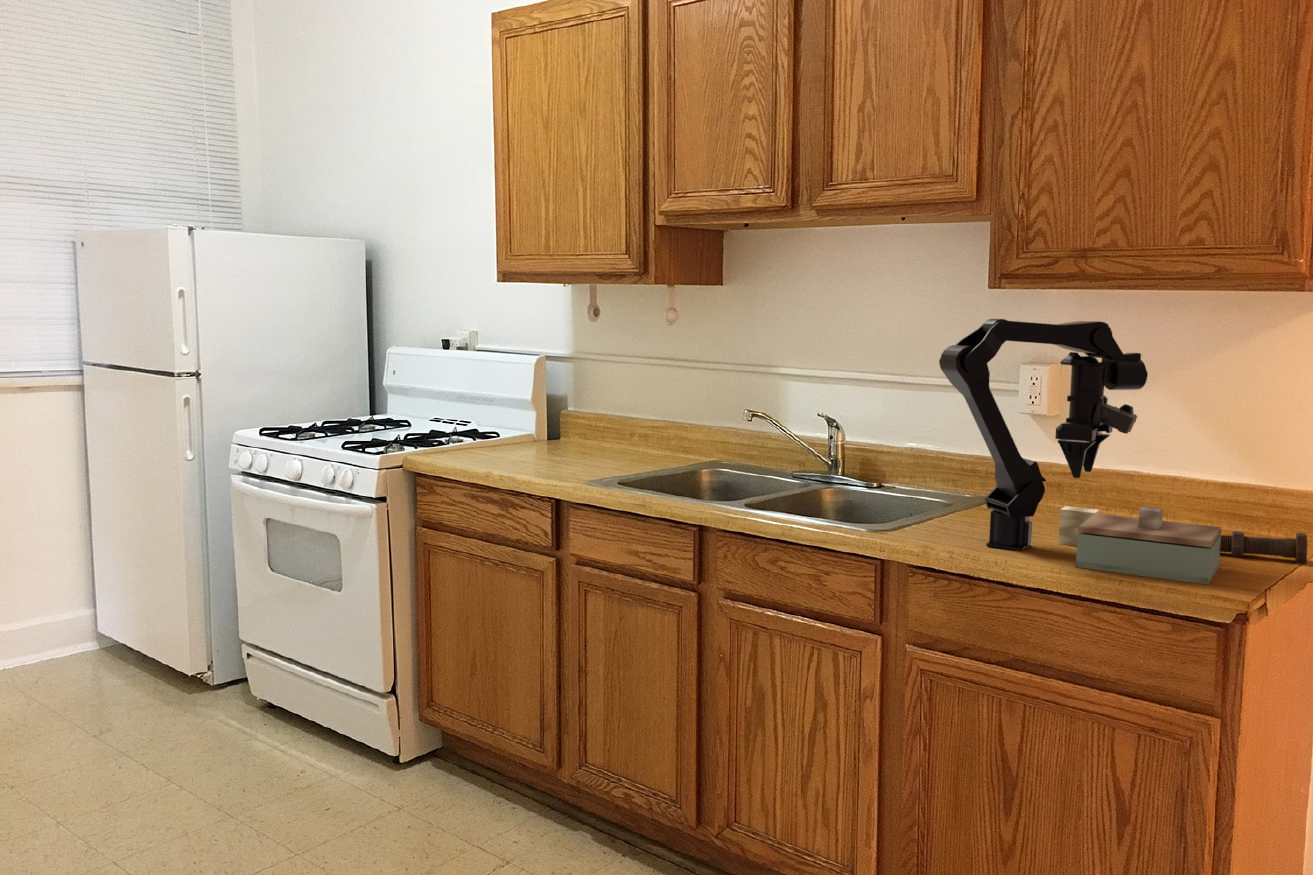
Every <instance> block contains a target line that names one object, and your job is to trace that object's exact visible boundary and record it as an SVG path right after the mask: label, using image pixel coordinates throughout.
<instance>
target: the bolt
mask: <svg viewBox="0 0 1313 875" xmlns="http://www.w3.org/2000/svg"><path fill="white" fill-rule="evenodd" d="M1220 535H1221V542H1220V552H1221V553H1228V554H1231V555H1230V556H1231V557H1233V558H1243V557H1244V554H1245V555H1246V554H1247V555H1248V554H1249V555H1256V556H1257V555H1258V556H1259V555H1260V556H1261V555H1262V556H1267V557H1270V556H1271V557H1272V556H1273V557H1282V558H1287V559H1294V562H1295V563H1296V564H1299V565H1306V564H1307V560H1308V558H1307V556H1308V535H1307V534H1306V533H1304V532H1296V533H1295V538H1292V537H1291V538H1290V537H1284V538H1283V537H1282V538H1280V537H1279V538H1278V537H1277V538H1276V537H1275V538H1274V537H1267V536H1266V537H1264V536H1250V535H1249V536H1247V535H1245V533H1244V532H1243V531H1240V530H1239V531H1238V530H1234V531H1232V532H1231V535H1229V534H1222V533H1221V534H1220Z"/></svg>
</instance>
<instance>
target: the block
mask: <svg viewBox="0 0 1313 875" xmlns="http://www.w3.org/2000/svg"><path fill="white" fill-rule="evenodd" d="M1095 514H1100V509H1097V508H1096V509H1095V508H1086V507H1077V506H1063V507H1062V508H1060V512H1059V526H1058V528H1059V529H1058V530H1059V531H1058V544H1059V545H1066V546H1067V545H1068V546H1076V547H1077V539H1078V533H1080V532H1078V526H1079V525H1081V524H1082V523H1084V522H1085V521H1086V520H1088V519H1089V518H1091V517H1092V516H1093V515H1095Z"/></svg>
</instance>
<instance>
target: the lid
mask: <svg viewBox="0 0 1313 875" xmlns="http://www.w3.org/2000/svg"><path fill="white" fill-rule="evenodd" d="M1163 510H1164V508H1163V507H1154V506H1145V505H1144V506H1142V507H1141V508H1140V509H1139V510H1138V511H1139V512H1138V517H1132V516H1123V515H1112V514H1103V513H1099V514H1095V515H1093V516H1092V517H1091V518H1089V519H1088V520H1086V521H1085V522H1084V523H1082V524H1081V525H1079V526H1078V532H1082V533H1090V534H1099V535H1107V536H1116V537H1125V538H1133V539H1142V540H1150V541H1159V542H1168V543H1176V544H1185V545H1193V546H1202V547H1211V546H1212V545H1213V544H1214V542H1215V541H1216V539H1217V538H1218V537H1219V535H1221V534H1222V527H1223V526H1215V525H1207V524H1206V525H1205V524H1196V523H1188V522H1187V523H1186V522H1179V521H1168V520H1163V513H1164V512H1163Z"/></svg>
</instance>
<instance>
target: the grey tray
mask: <svg viewBox="0 0 1313 875" xmlns="http://www.w3.org/2000/svg"><path fill="white" fill-rule="evenodd" d="M1220 542H1221V534H1220V535H1219V537H1218V538H1217V539H1216V541H1215V542H1214V544H1213V545H1212V546H1211V547H1202V546H1193V545H1185V544H1176V543H1168V542H1159V541H1150V540H1142V539H1133V538H1125V537H1116V536H1107V535H1099V534H1090V533H1082V532H1080V533H1078V539H1077V546H1076V556H1075V557H1076V558H1075V559H1076V560H1075V568H1079V569H1087V570H1096V571H1102V572H1109V573H1110V572H1111V573H1117V574H1119V573H1120V574H1125V575H1131V576H1132V575H1133V576H1140V577H1146V578H1154V579H1155V578H1156V579H1163V580H1170V581H1177V582H1186V583H1190V584H1191V583H1192V584H1199V585H1210V582H1211V581H1212V579H1214V578H1213V577H1214V576H1215V575H1216V573H1217V571H1218V570H1219V566H1220Z"/></svg>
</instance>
